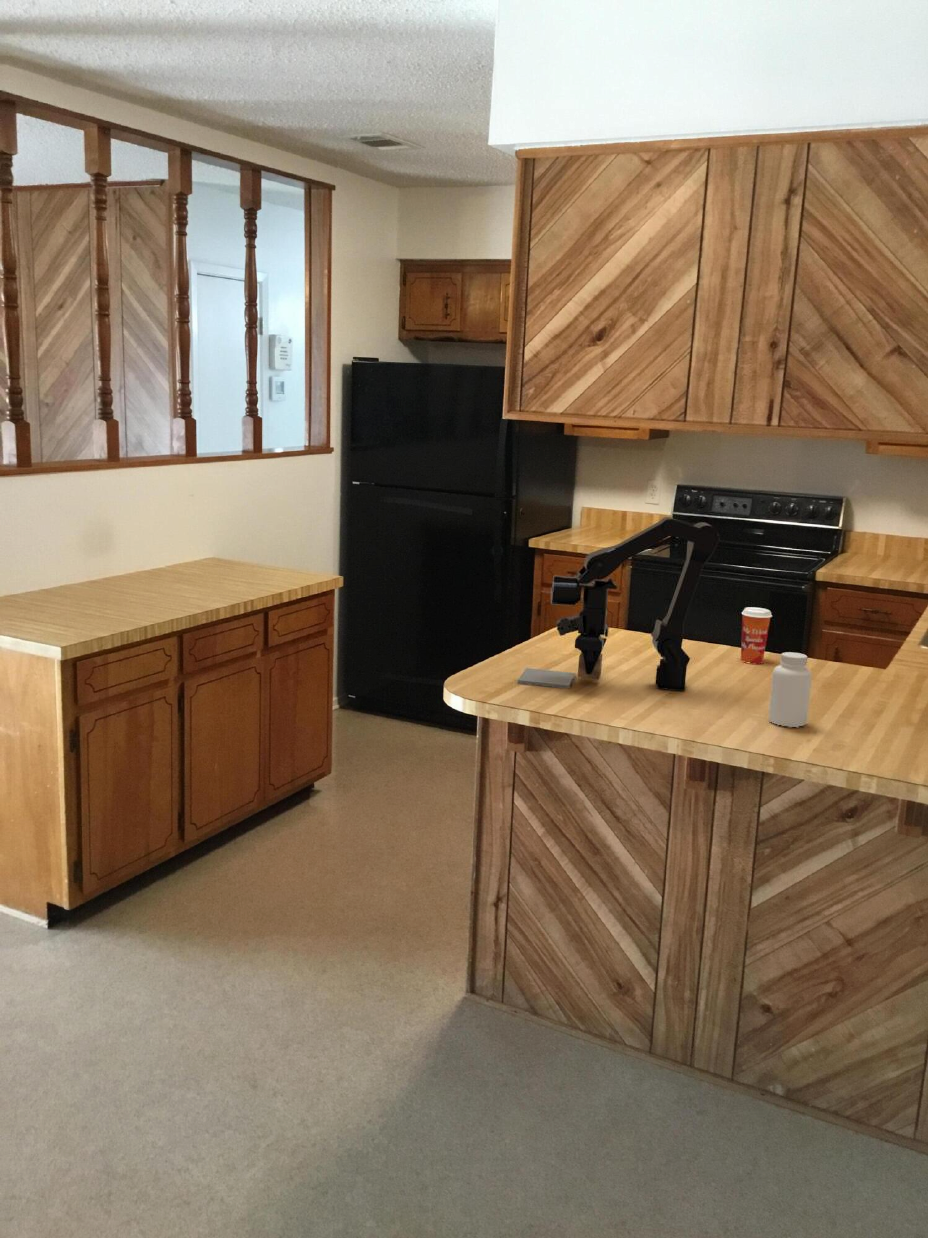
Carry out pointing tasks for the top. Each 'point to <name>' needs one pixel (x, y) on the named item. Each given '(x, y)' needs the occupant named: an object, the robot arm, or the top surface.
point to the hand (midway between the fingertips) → (589, 671)
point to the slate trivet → (546, 678)
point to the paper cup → (754, 634)
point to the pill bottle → (790, 691)
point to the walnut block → (596, 670)
